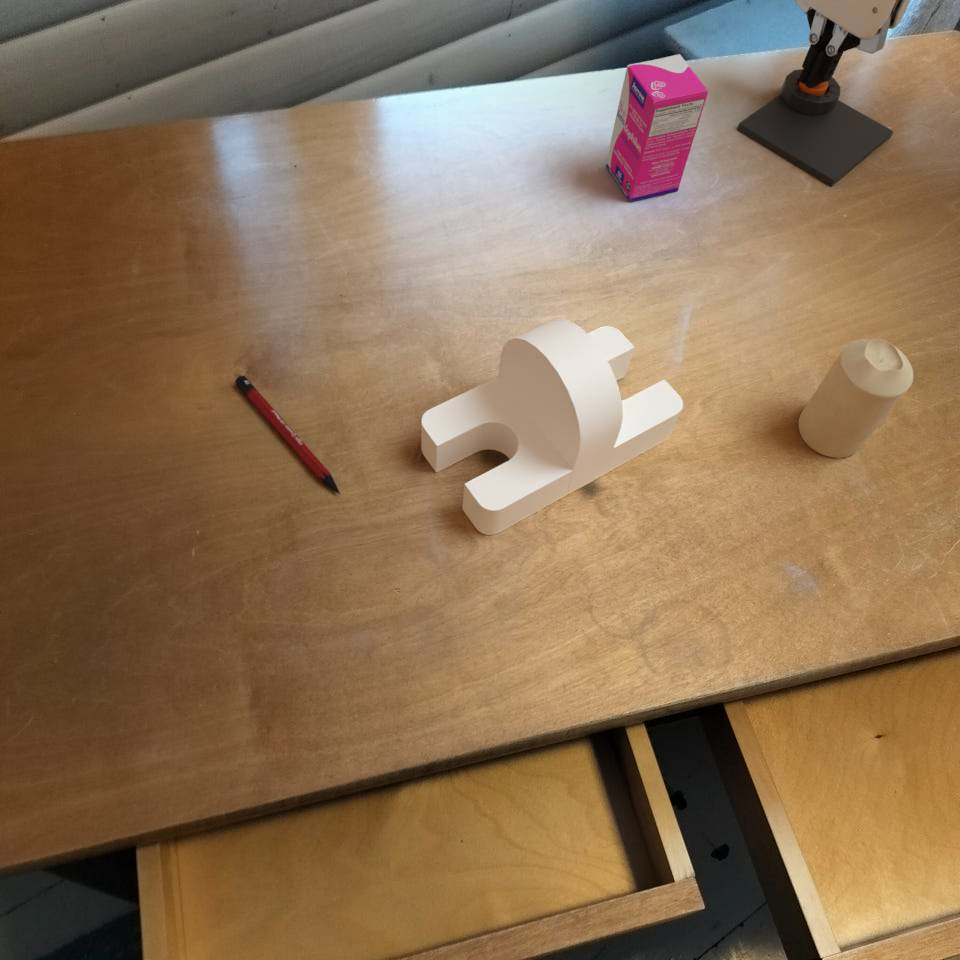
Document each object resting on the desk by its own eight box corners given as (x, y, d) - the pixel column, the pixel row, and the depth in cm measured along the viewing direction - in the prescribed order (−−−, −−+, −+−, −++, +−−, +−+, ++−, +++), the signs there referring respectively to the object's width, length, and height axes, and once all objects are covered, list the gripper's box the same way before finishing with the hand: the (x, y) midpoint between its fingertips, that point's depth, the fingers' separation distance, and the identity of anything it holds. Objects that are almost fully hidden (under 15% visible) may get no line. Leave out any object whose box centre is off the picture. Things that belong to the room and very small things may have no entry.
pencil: (336, 501, 65) (335, 494, 64) (236, 386, 70) (234, 378, 69) (345, 494, 65) (345, 488, 65) (245, 381, 70) (243, 373, 70)
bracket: (484, 540, 64) (496, 458, 54) (415, 443, 68) (414, 351, 58) (677, 434, 70) (719, 343, 60) (603, 351, 74) (631, 254, 64)
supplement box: (602, 166, 87) (625, 61, 77) (653, 156, 88) (683, 51, 78) (627, 204, 84) (654, 100, 74) (679, 192, 86) (713, 89, 76)
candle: (876, 448, 71) (939, 372, 62) (820, 466, 69) (877, 392, 61) (838, 397, 73) (894, 318, 65) (784, 414, 72) (834, 336, 63)
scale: (796, 82, 97) (805, 62, 94) (892, 136, 92) (903, 116, 90) (733, 128, 91) (740, 107, 89) (830, 187, 87) (841, 167, 85)
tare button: (804, 84, 94) (810, 69, 93) (827, 97, 93) (834, 82, 92) (789, 95, 93) (795, 80, 92) (812, 108, 92) (819, 93, 91)
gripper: (988, -80, 75) (888, 106, 90) (857, -152, 80) (784, 35, 96) (937, -57, 72) (843, 130, 88) (805, -133, 78) (739, 56, 93)
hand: (812, 80), depth 92 cm, fingers closed
